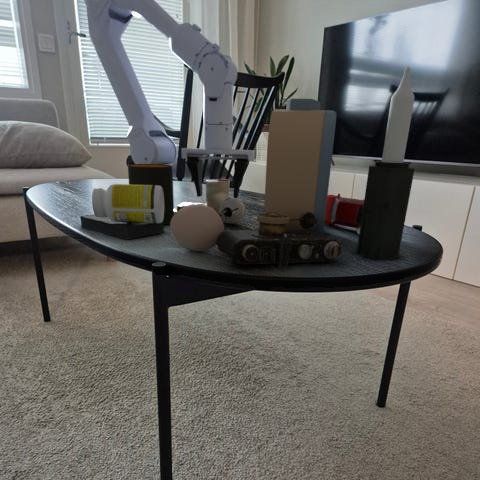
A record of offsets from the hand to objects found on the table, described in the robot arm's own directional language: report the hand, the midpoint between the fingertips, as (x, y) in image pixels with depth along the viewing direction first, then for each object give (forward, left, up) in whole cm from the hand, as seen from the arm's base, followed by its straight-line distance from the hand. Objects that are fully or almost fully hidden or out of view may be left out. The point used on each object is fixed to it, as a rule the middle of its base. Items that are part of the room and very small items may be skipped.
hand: (217, 196), depth 88 cm
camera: (+28, -9, -1) cm, 30 cm away
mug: (-3, -13, -4) cm, 14 cm away
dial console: (-1, -1, -4) cm, 5 cm away
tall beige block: (+20, +4, -5) cm, 21 cm away
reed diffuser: (+12, -7, -5) cm, 14 cm away
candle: (+37, +5, -5) cm, 38 cm away
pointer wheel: (0, 0, -2) cm, 2 cm away
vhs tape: (+2, -22, -5) cm, 23 cm away
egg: (+26, -17, -1) cm, 31 cm away
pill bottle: (+10, -17, +1) cm, 20 cm away
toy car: (+21, +18, -2) cm, 28 cm away
